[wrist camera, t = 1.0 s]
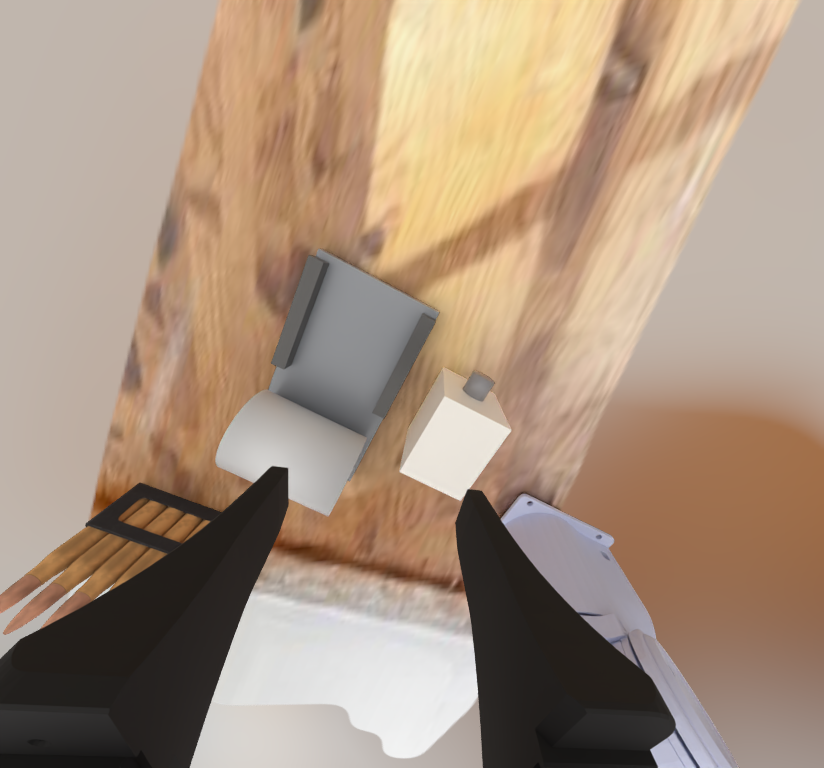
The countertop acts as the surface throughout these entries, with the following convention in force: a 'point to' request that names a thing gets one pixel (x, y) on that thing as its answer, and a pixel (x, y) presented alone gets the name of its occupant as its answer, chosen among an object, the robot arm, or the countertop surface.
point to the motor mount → (328, 381)
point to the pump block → (454, 433)
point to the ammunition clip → (108, 551)
